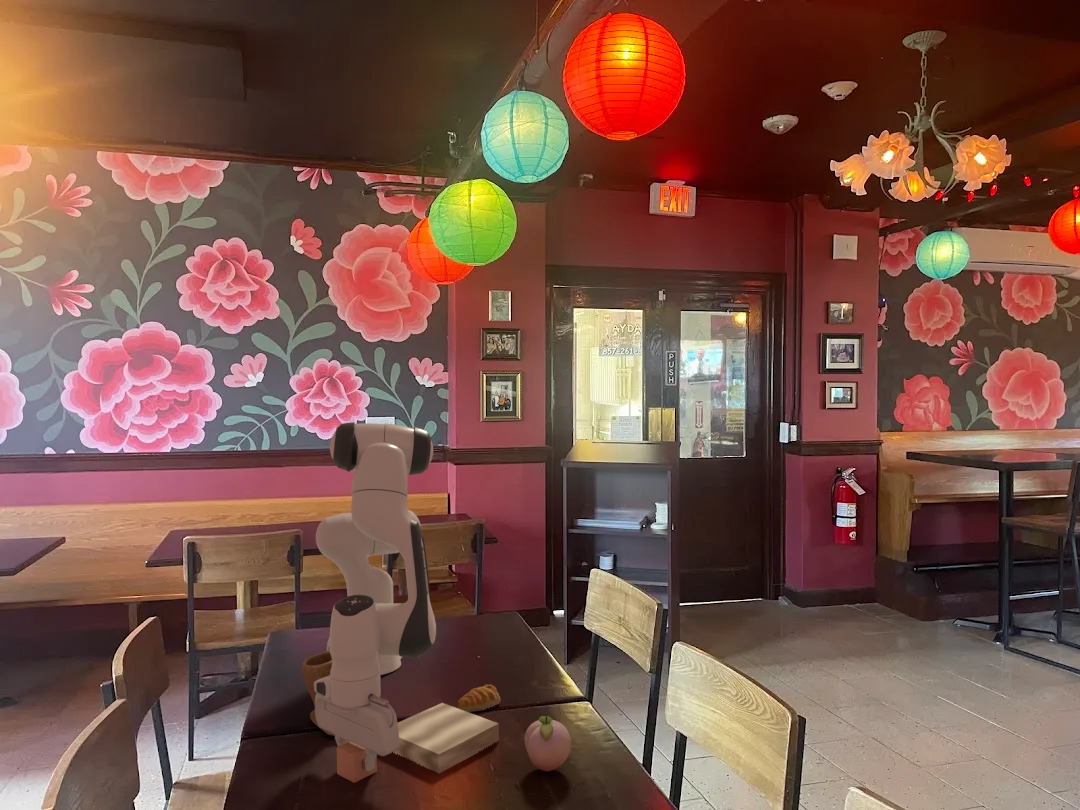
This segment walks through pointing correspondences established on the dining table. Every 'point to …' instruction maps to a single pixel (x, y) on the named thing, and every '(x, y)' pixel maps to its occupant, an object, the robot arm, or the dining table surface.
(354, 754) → the terracotta block
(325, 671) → the cork boot vase
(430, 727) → the birch base
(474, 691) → the pastry
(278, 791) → the dining table surface
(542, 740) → the decorative fruit
